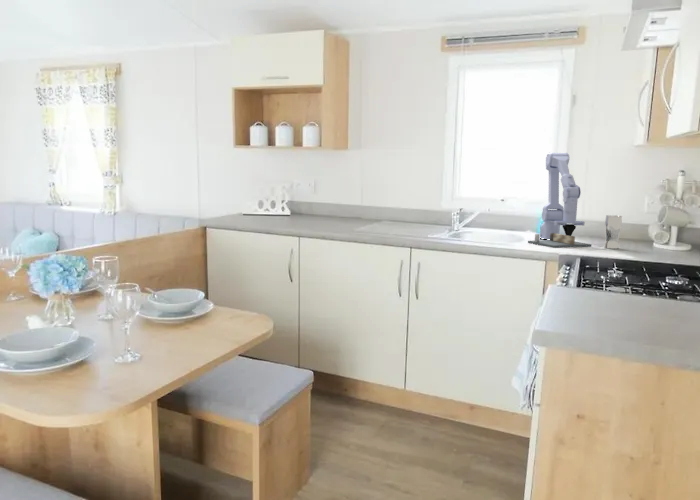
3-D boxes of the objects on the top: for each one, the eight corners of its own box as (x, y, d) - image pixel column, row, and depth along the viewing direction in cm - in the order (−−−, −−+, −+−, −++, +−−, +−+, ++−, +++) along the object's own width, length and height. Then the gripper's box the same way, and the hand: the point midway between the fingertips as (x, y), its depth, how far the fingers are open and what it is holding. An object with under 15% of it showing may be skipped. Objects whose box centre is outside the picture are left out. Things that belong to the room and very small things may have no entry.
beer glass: (610, 249, 250) (613, 216, 248) (599, 247, 257) (602, 215, 255) (622, 249, 252) (625, 216, 250) (612, 247, 259) (614, 215, 257)
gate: (548, 240, 270) (549, 232, 270) (552, 239, 271) (553, 232, 271) (570, 244, 256) (571, 236, 255) (575, 244, 256) (575, 236, 256)
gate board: (527, 242, 268) (528, 232, 268) (564, 241, 276) (564, 232, 275) (553, 247, 252) (554, 237, 251) (591, 246, 259) (592, 236, 259)
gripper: (560, 212, 255) (558, 241, 257) (589, 212, 257) (586, 241, 259) (552, 211, 262) (550, 239, 263) (580, 211, 264) (578, 239, 266)
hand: (568, 240), depth 262 cm, fingers closed, pressing on gate
